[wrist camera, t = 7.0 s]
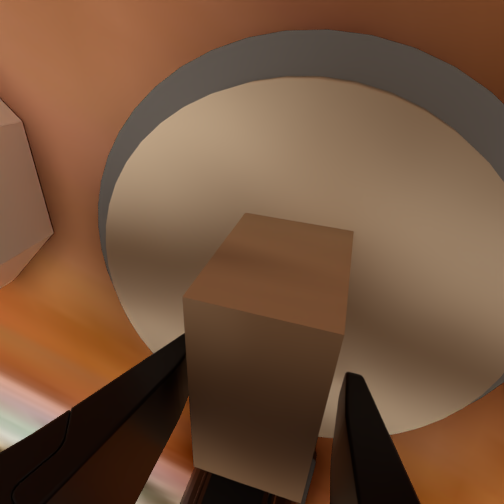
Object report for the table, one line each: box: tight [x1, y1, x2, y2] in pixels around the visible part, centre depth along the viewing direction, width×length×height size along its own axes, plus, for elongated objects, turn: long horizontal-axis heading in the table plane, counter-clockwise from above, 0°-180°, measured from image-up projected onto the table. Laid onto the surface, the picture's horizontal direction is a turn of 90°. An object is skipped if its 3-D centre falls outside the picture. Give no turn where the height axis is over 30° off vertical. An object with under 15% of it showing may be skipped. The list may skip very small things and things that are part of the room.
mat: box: [98, 30, 504, 405], centre depth 12 cm, size 15×15×1 cm
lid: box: [106, 76, 504, 503], centre depth 10 cm, size 13×13×5 cm
